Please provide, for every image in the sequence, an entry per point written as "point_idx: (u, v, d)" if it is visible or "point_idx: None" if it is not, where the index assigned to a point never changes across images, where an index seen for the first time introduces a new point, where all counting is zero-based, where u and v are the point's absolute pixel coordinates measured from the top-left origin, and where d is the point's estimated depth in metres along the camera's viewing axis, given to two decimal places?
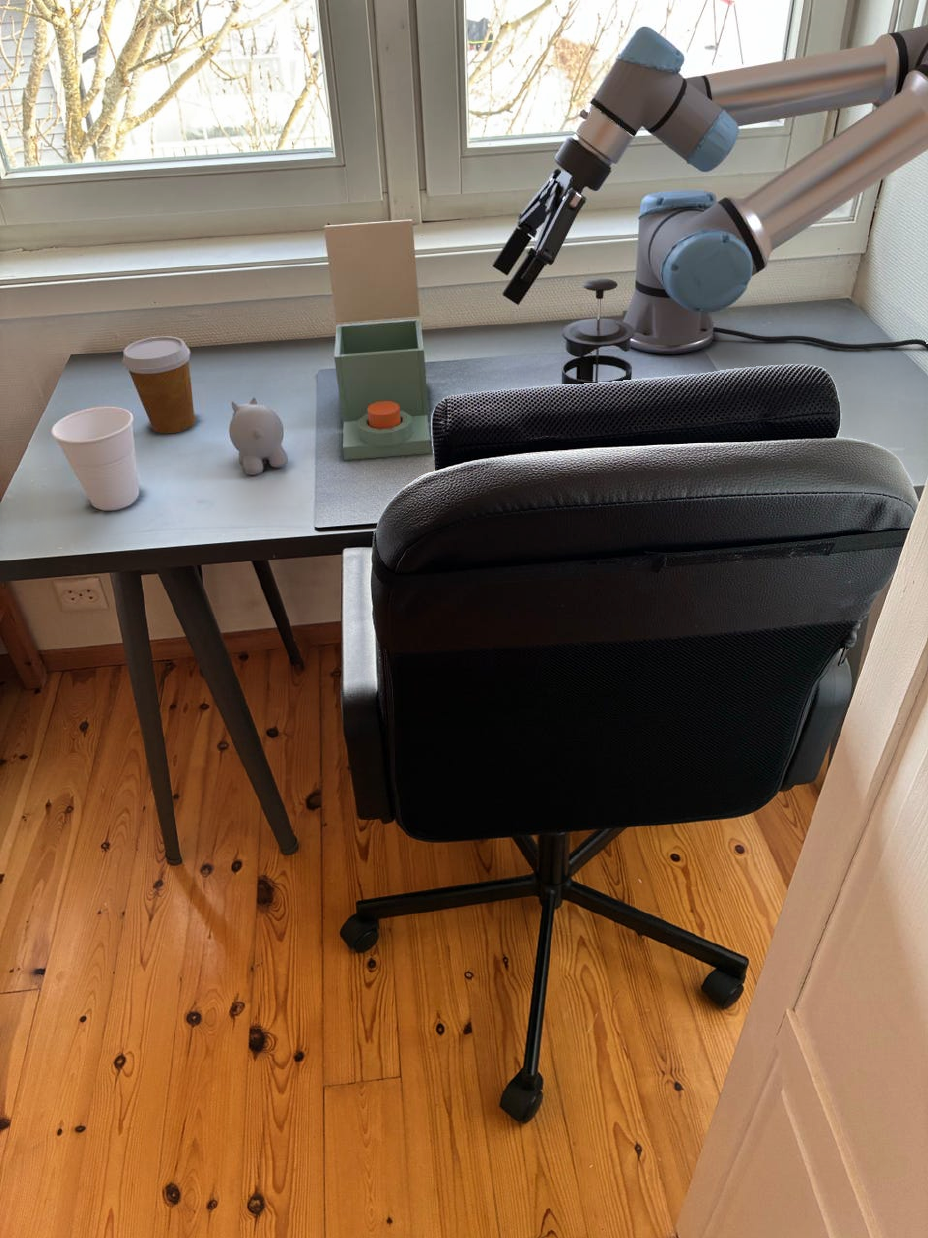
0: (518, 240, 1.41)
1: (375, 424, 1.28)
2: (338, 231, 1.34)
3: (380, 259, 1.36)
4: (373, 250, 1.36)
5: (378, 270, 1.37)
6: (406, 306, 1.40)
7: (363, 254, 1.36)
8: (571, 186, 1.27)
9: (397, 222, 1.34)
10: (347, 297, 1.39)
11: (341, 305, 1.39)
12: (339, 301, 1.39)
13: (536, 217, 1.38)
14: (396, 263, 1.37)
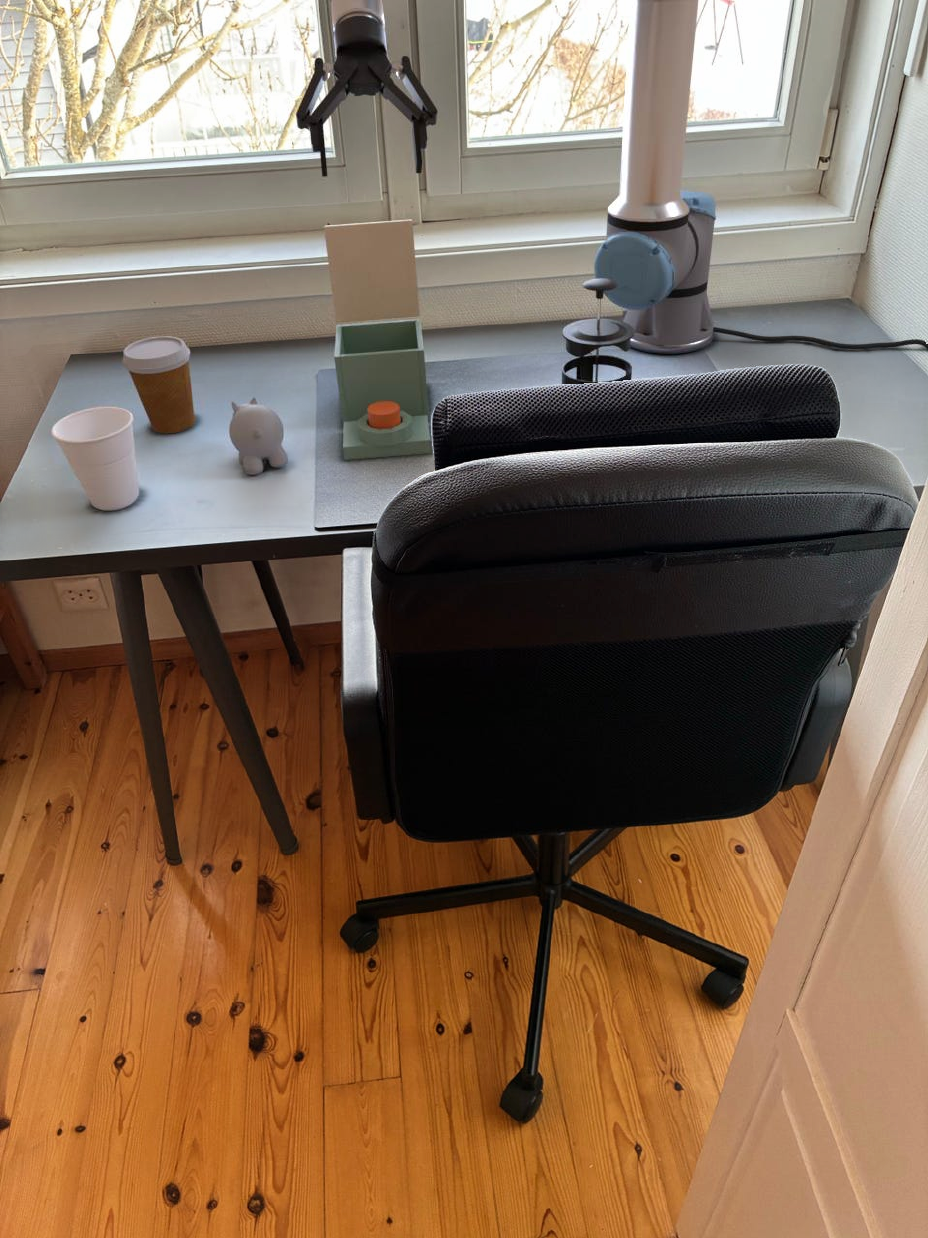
0: (413, 134, 1.36)
1: (375, 424, 1.28)
2: (338, 231, 1.34)
3: (380, 259, 1.36)
4: (373, 250, 1.36)
5: (378, 270, 1.37)
6: (406, 306, 1.40)
7: (363, 254, 1.36)
8: None
9: (397, 222, 1.34)
10: (347, 297, 1.39)
11: (341, 305, 1.39)
12: (339, 301, 1.39)
13: (400, 106, 1.36)
14: (396, 263, 1.37)
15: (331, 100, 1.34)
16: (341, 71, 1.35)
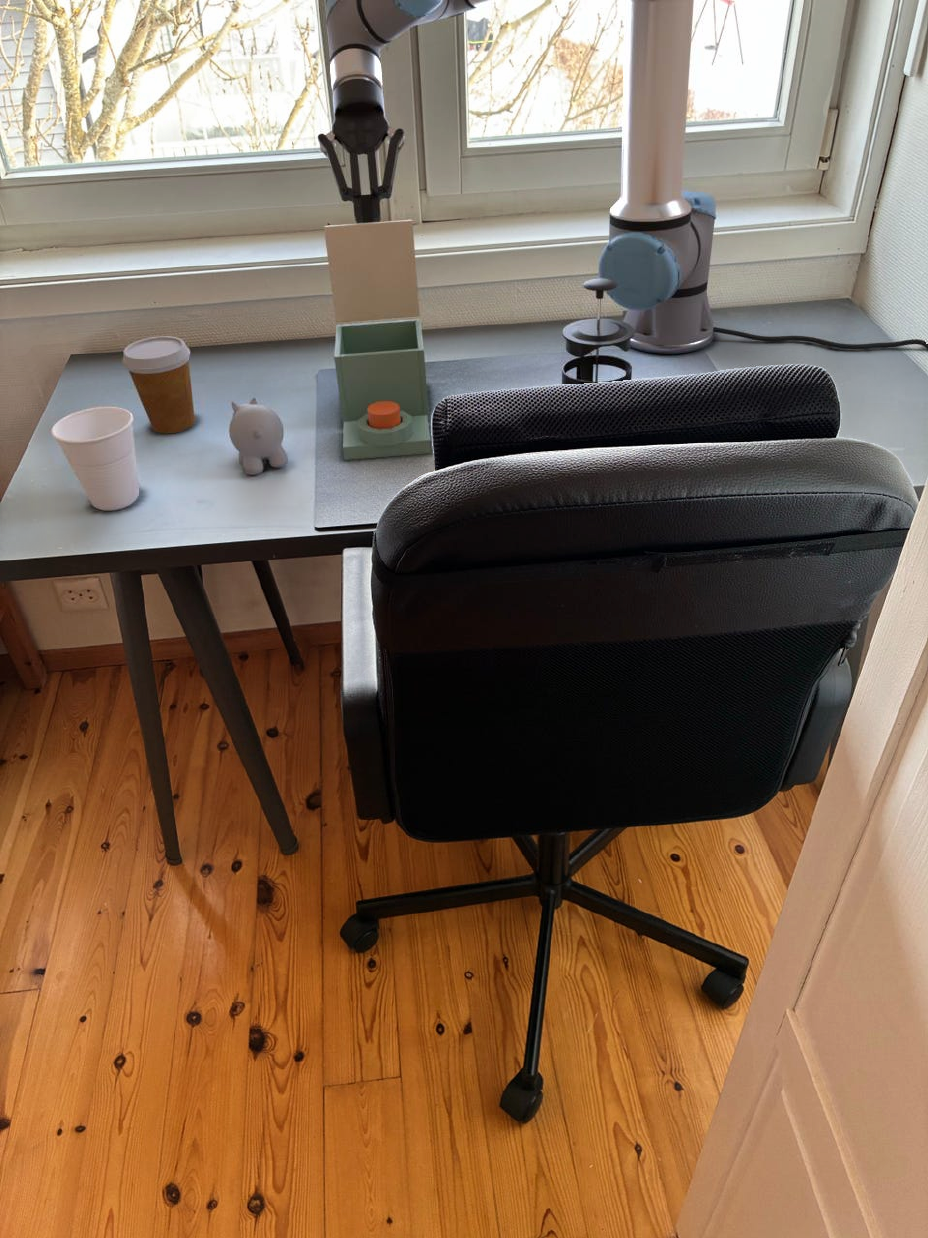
0: None
1: (375, 424, 1.28)
2: (338, 231, 1.34)
3: (380, 259, 1.36)
4: (373, 251, 1.36)
5: (378, 270, 1.37)
6: (406, 306, 1.40)
7: (363, 254, 1.36)
8: None
9: (397, 222, 1.34)
10: (347, 298, 1.39)
11: (341, 305, 1.39)
12: (339, 301, 1.39)
13: None
14: (396, 264, 1.37)
15: (357, 166, 1.37)
16: (339, 133, 1.38)
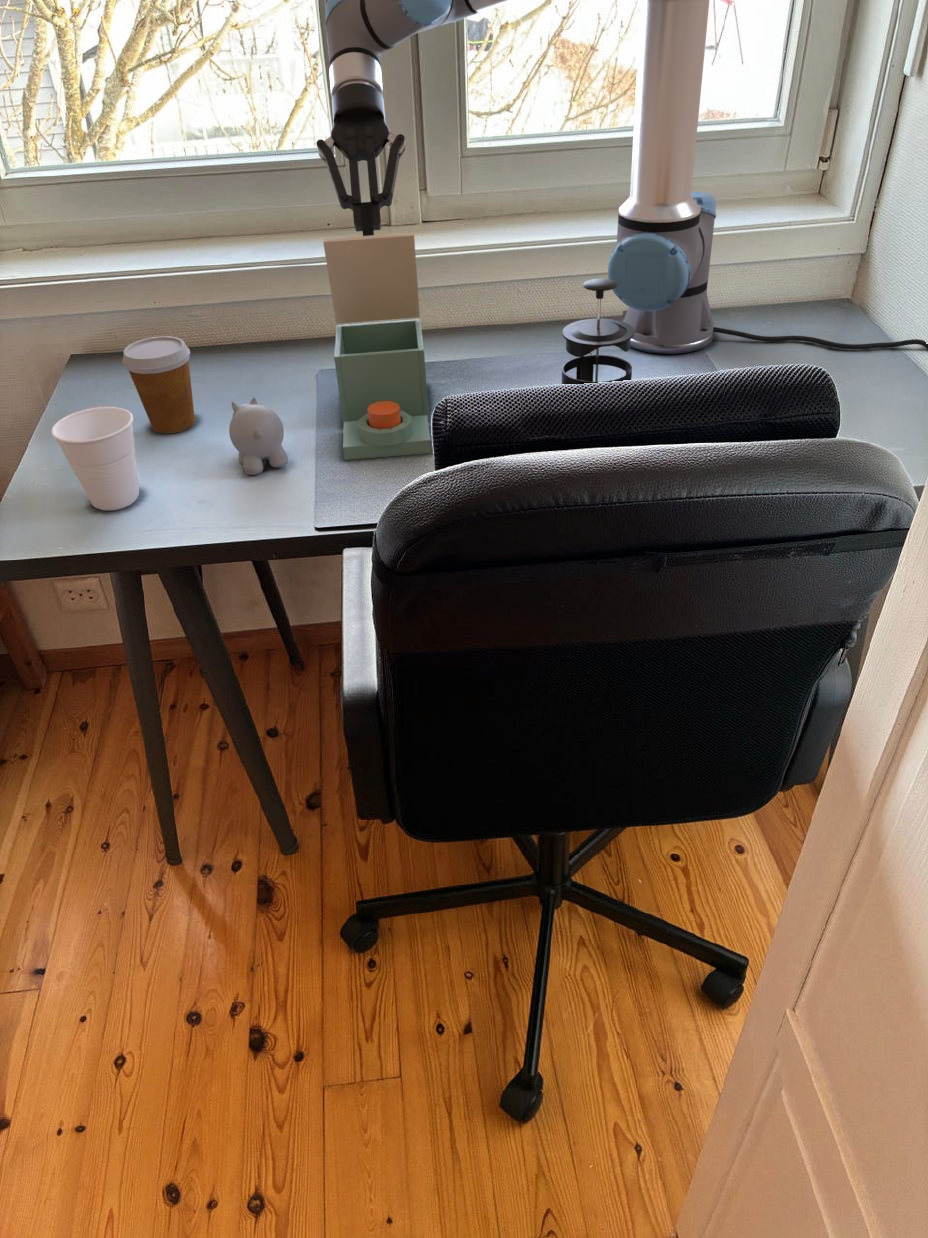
0: None
1: (375, 424, 1.28)
2: (338, 246, 1.30)
3: (381, 270, 1.34)
4: (373, 262, 1.33)
5: (379, 279, 1.35)
6: (406, 309, 1.40)
7: (363, 265, 1.33)
8: None
9: (398, 237, 1.30)
10: (347, 302, 1.38)
11: (341, 309, 1.39)
12: (339, 305, 1.38)
13: None
14: (396, 273, 1.35)
15: (356, 173, 1.34)
16: (338, 139, 1.34)
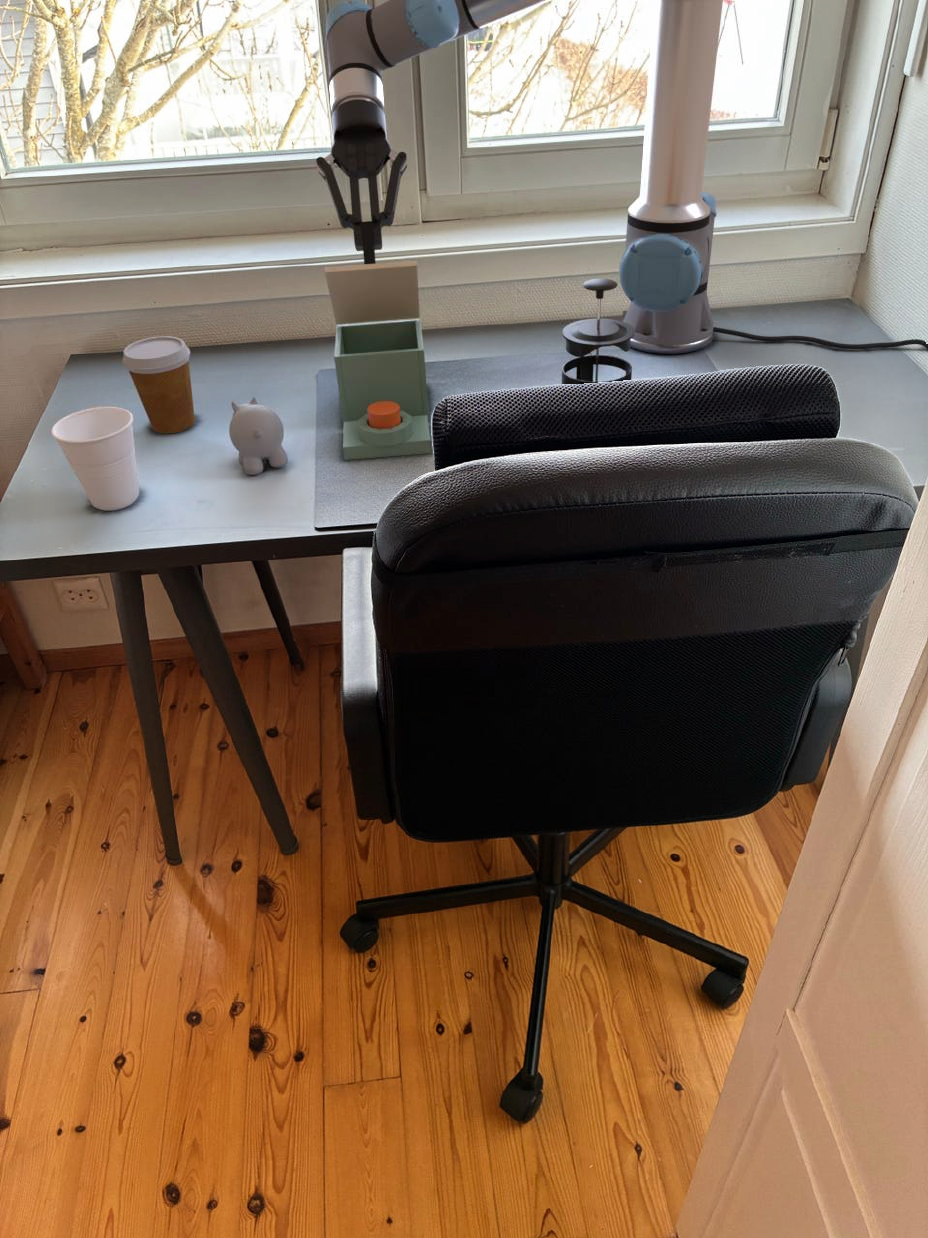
0: None
1: (375, 424, 1.28)
2: (339, 274, 1.29)
3: (382, 288, 1.33)
4: (375, 284, 1.32)
5: (380, 294, 1.34)
6: (407, 313, 1.40)
7: (365, 286, 1.32)
8: None
9: (401, 267, 1.28)
10: (348, 310, 1.38)
11: (342, 315, 1.39)
12: (340, 313, 1.38)
13: None
14: (398, 290, 1.34)
15: (357, 191, 1.30)
16: (338, 156, 1.31)
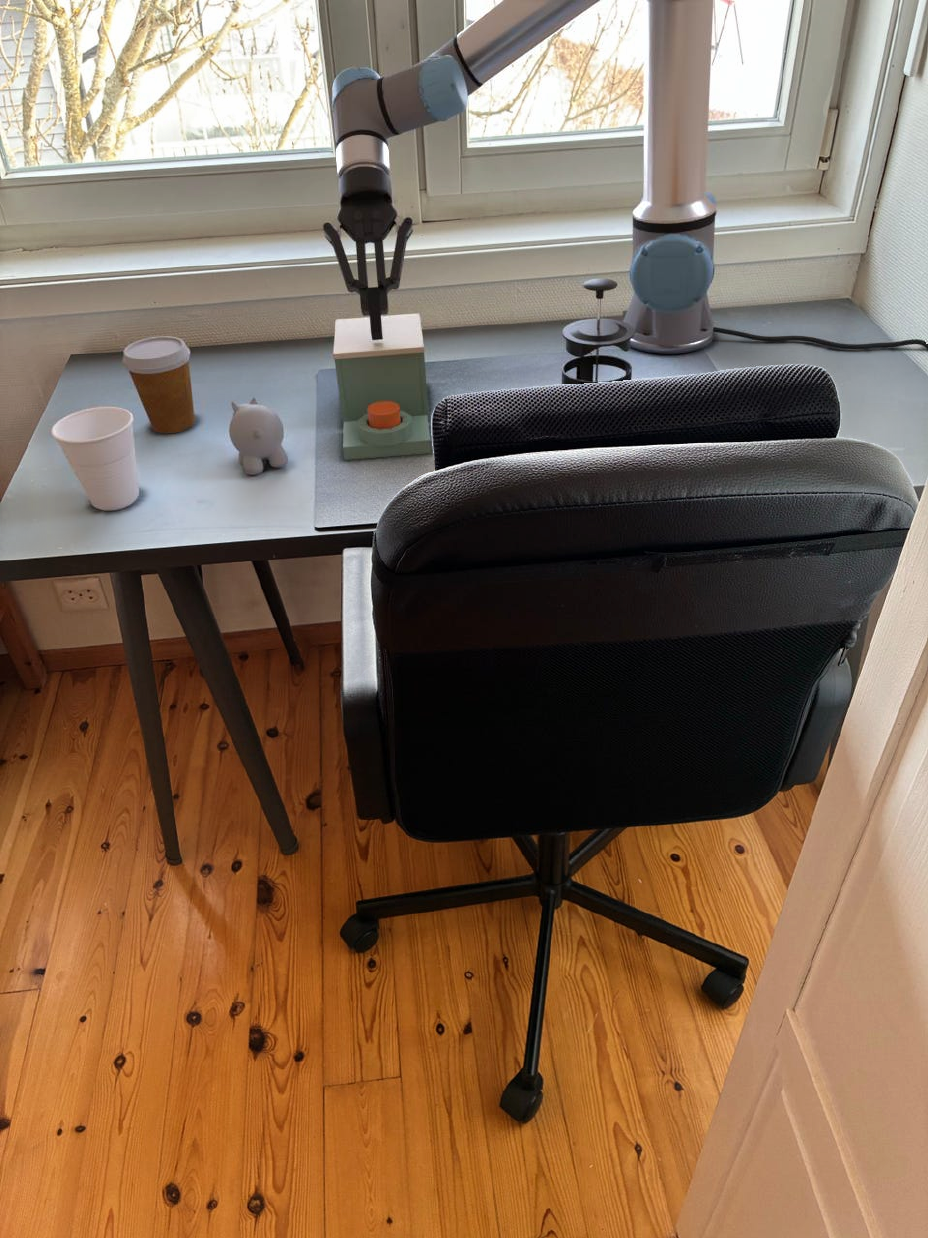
0: None
1: (375, 424, 1.28)
2: None
3: None
4: None
5: None
6: None
7: None
8: None
9: None
10: None
11: None
12: None
13: None
14: None
15: (363, 257, 1.32)
16: (345, 222, 1.32)
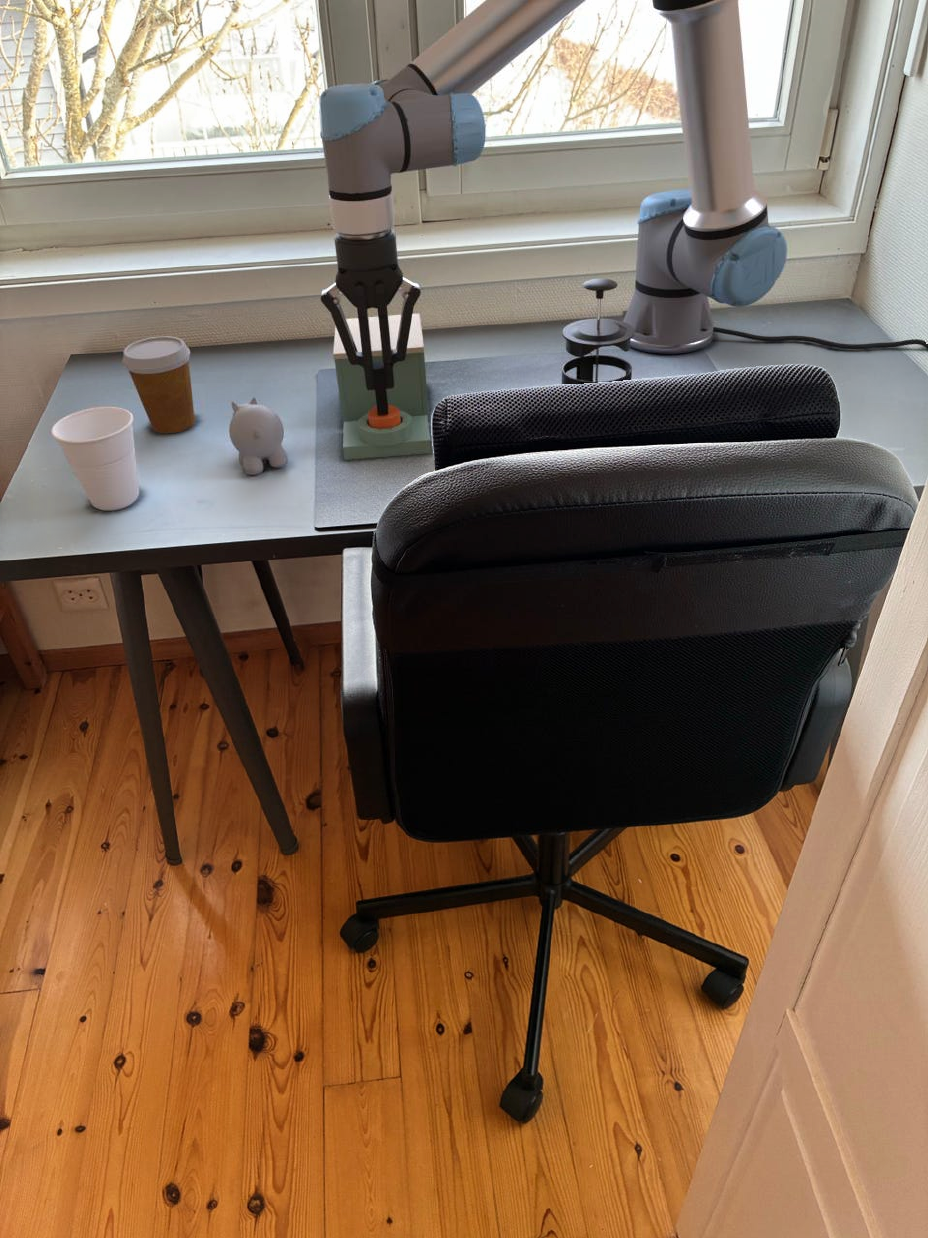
0: None
1: None
2: None
3: None
4: None
5: None
6: None
7: None
8: None
9: None
10: None
11: None
12: None
13: None
14: None
15: (367, 335, 1.21)
16: (345, 292, 1.18)
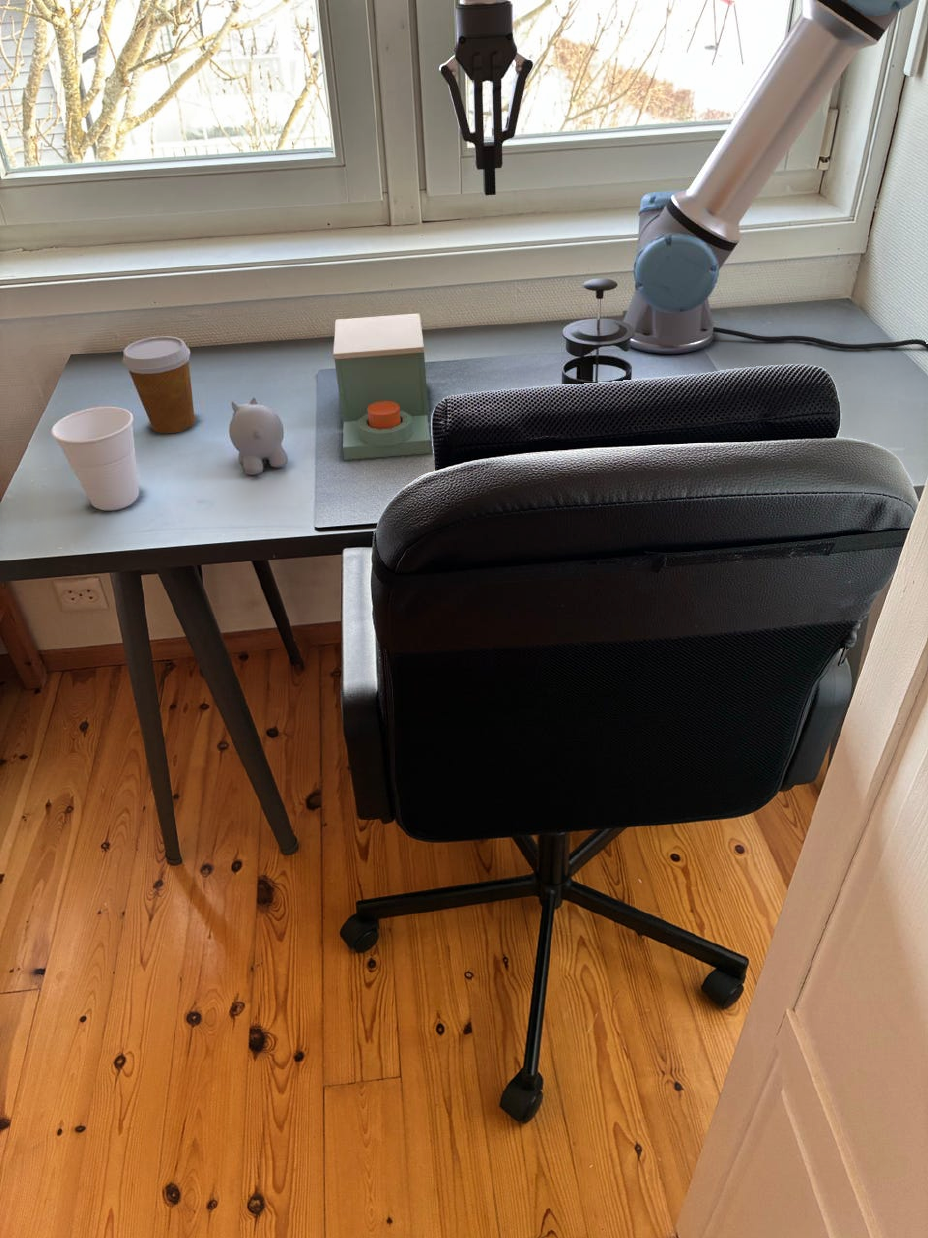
0: None
1: (375, 424, 1.28)
2: None
3: None
4: None
5: None
6: None
7: None
8: None
9: None
10: None
11: None
12: None
13: (491, 110, 1.31)
14: None
15: (481, 109, 1.30)
16: (463, 64, 1.27)
